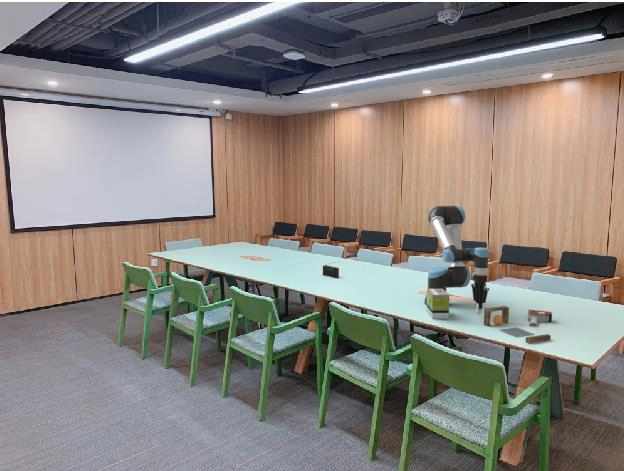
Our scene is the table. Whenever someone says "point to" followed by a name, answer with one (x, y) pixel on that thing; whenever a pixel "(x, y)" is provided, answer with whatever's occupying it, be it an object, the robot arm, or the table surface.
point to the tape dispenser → (538, 317)
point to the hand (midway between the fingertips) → (478, 313)
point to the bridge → (488, 310)
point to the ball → (497, 320)
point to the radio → (331, 271)
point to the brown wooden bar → (538, 338)
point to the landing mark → (516, 332)
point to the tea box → (438, 303)
